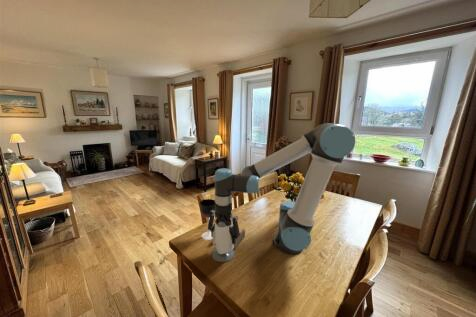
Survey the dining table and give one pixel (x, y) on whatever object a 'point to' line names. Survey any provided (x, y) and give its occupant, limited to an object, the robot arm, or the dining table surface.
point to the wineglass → (207, 214)
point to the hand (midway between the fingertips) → (223, 246)
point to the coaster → (222, 256)
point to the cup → (222, 237)
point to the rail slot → (239, 239)
